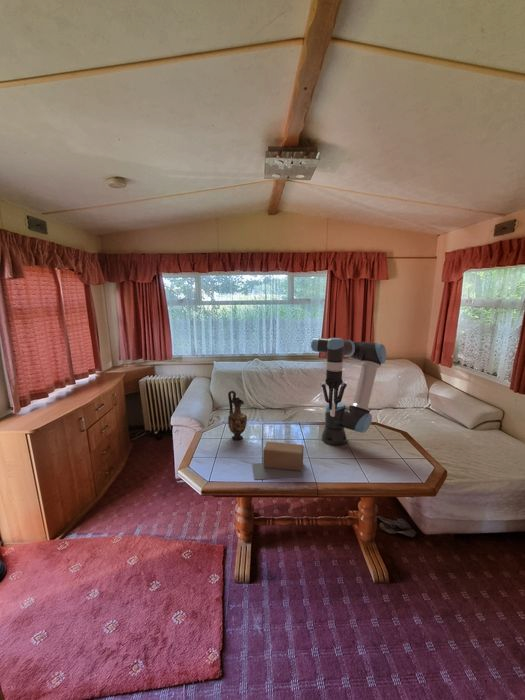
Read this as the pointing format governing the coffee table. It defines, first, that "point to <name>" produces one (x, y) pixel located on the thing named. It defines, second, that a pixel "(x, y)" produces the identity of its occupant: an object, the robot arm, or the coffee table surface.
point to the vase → (236, 417)
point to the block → (283, 456)
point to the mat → (273, 472)
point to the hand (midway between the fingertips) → (332, 415)
